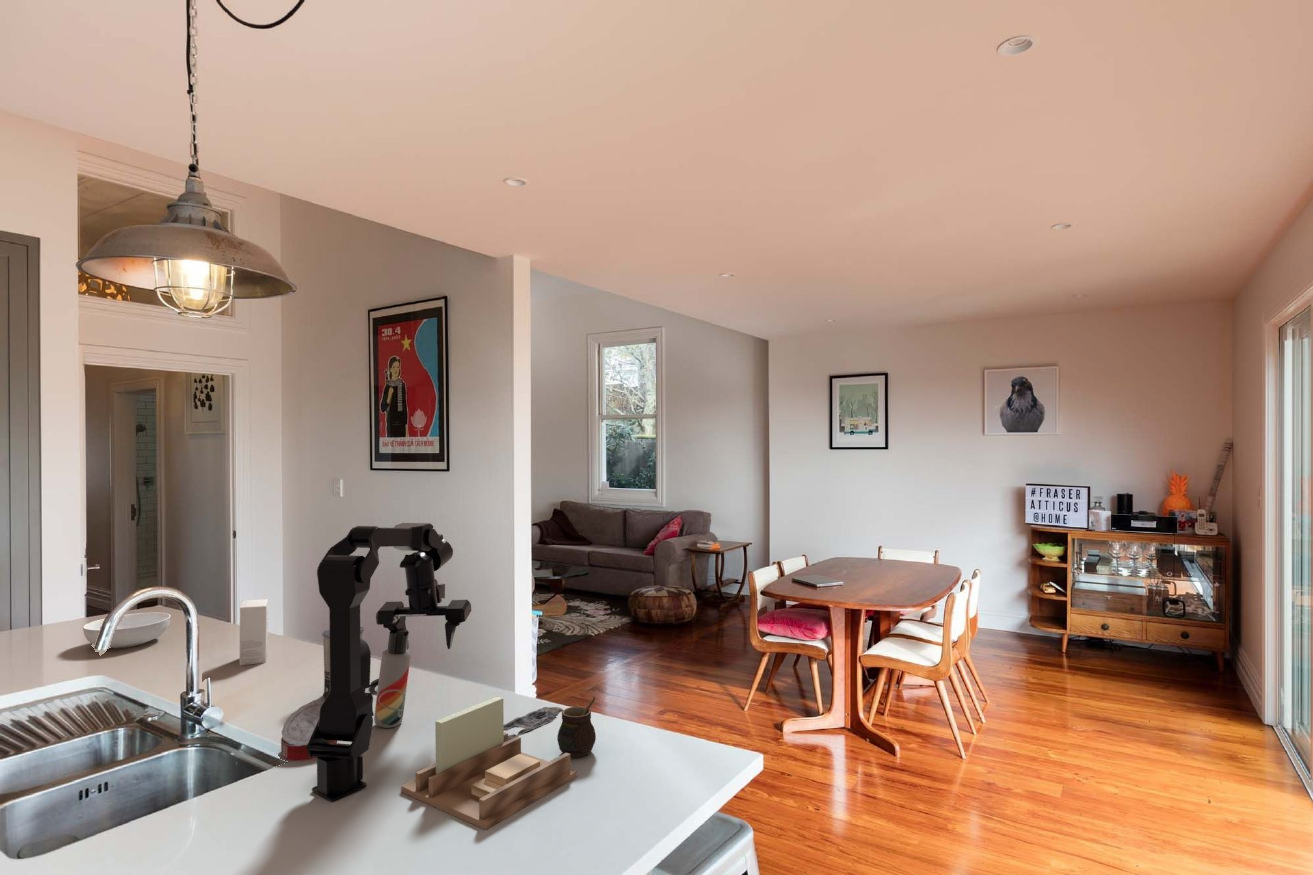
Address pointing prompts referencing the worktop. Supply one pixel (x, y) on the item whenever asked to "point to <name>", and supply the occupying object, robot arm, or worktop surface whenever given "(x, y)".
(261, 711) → the worktop surface
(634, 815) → the worktop surface
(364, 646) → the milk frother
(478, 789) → the pine offcut
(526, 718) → the driftwood
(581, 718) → the mate gourd
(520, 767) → the oak offcut
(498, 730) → the green sheet
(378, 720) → the lotion bottle
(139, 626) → the serving bowl
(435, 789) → the walnut rack
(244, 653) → the skincare box
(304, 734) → the canned food
